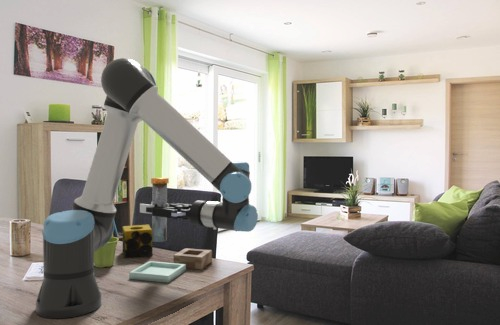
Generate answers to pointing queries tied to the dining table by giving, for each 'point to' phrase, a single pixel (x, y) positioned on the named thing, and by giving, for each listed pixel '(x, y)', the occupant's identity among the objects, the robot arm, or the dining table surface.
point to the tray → (157, 271)
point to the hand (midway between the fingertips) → (146, 207)
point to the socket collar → (193, 258)
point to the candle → (137, 241)
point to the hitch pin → (161, 200)
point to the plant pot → (106, 254)
